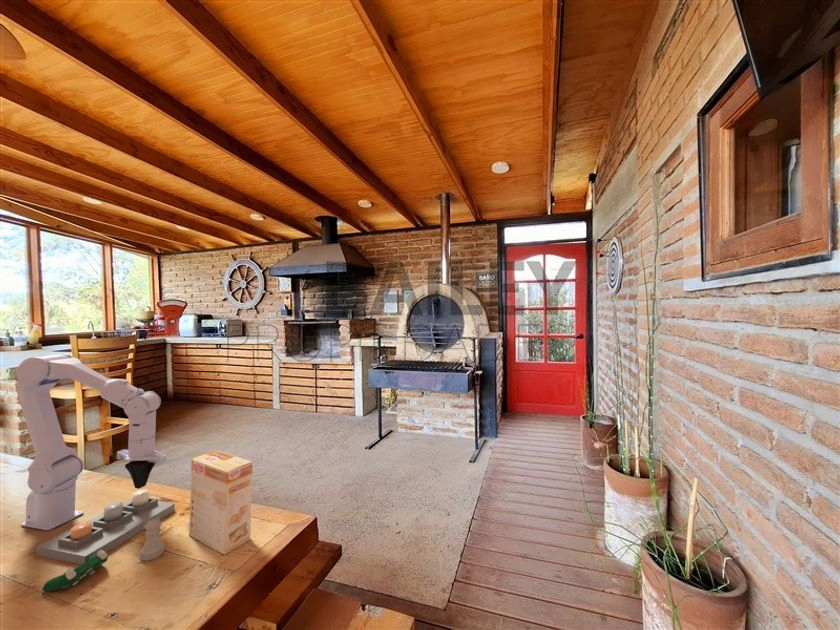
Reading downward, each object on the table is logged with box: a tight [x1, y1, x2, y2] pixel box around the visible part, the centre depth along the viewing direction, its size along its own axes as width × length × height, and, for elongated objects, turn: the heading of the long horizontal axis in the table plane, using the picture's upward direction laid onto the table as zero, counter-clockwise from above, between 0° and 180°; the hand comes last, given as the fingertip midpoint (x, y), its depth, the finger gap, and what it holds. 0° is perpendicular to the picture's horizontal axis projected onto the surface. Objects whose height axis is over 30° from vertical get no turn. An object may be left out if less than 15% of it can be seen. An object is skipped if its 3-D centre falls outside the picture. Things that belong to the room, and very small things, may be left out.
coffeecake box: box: [188, 450, 254, 556], centre depth 86 cm, size 15×7×20 cm, turn 62°
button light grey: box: [103, 502, 124, 522], centre depth 87 cm, size 4×4×3 cm
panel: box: [35, 496, 176, 566], centre depth 87 cm, size 14×22×4 cm, turn 169°
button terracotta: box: [70, 521, 92, 541], centre depth 80 cm, size 4×4×3 cm
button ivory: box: [131, 489, 150, 507], centre depth 94 cm, size 4×4×3 cm
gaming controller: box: [41, 550, 109, 592], centre depth 72 cm, size 9×4×6 cm
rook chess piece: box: [139, 517, 165, 562], centre depth 79 cm, size 4×4×8 cm
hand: (140, 486), depth 94 cm, fingers closed
